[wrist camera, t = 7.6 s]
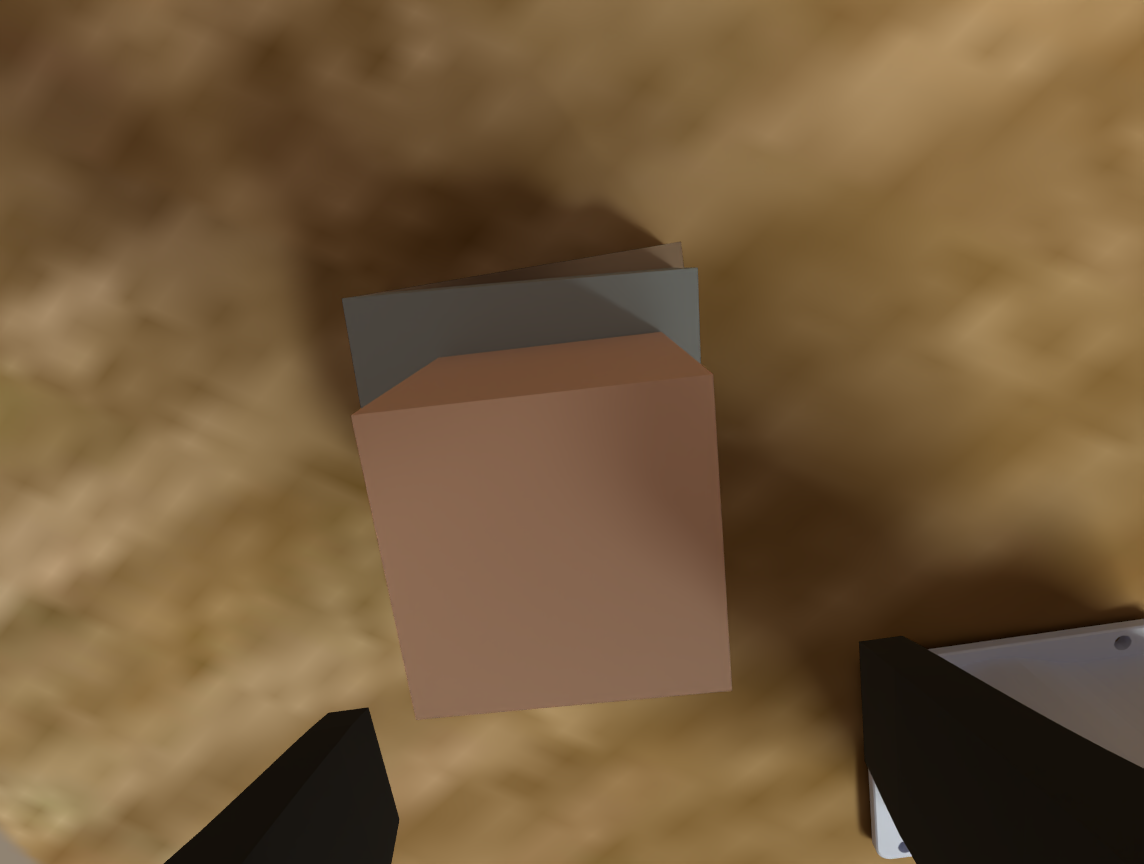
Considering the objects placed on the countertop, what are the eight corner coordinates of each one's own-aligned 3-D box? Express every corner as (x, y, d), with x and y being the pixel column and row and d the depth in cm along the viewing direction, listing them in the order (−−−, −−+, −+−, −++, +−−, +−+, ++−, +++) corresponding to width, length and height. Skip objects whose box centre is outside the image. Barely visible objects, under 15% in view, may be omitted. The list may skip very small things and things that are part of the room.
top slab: (673, 267, 15) (697, 267, 12) (685, 535, 17) (708, 591, 14) (385, 292, 15) (341, 297, 12) (426, 555, 17) (396, 614, 14)
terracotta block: (661, 331, 12) (712, 374, 8) (678, 539, 14) (732, 691, 9) (438, 357, 13) (350, 415, 8) (473, 560, 14) (415, 720, 9)
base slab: (662, 246, 18) (680, 241, 15) (694, 505, 20) (715, 546, 17) (389, 292, 18) (354, 296, 15) (447, 543, 20) (426, 588, 17)
